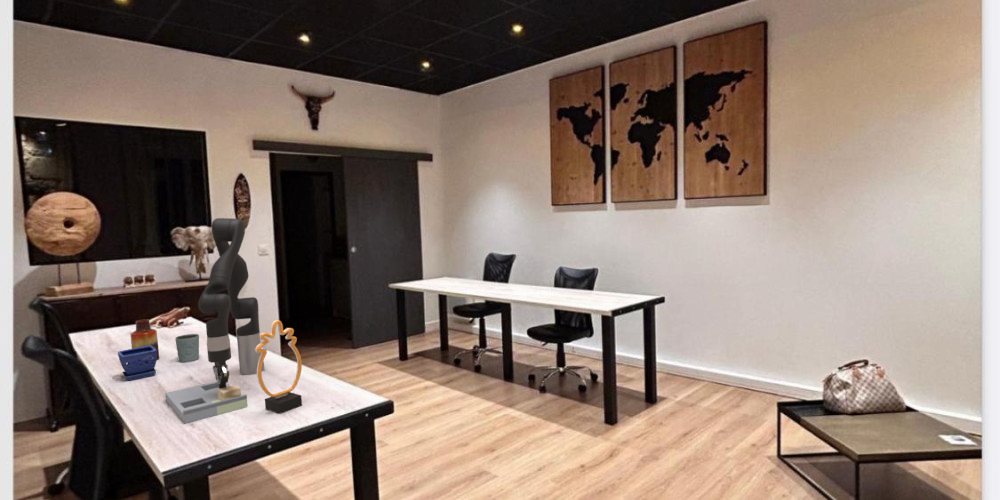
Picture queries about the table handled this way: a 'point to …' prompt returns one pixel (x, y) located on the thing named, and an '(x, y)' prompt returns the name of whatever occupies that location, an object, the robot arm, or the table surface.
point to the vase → (144, 336)
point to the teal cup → (187, 347)
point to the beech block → (229, 392)
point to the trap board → (202, 402)
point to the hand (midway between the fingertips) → (222, 392)
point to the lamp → (285, 398)
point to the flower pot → (138, 368)
